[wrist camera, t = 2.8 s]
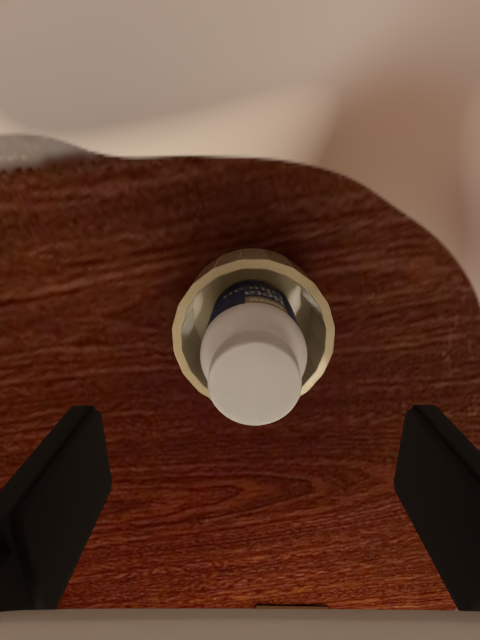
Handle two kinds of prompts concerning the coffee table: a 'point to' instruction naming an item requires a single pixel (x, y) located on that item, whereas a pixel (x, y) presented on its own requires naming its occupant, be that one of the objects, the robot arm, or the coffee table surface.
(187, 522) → the coffee table surface
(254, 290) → the pill bottle
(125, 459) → the coffee table surface
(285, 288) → the bucket
